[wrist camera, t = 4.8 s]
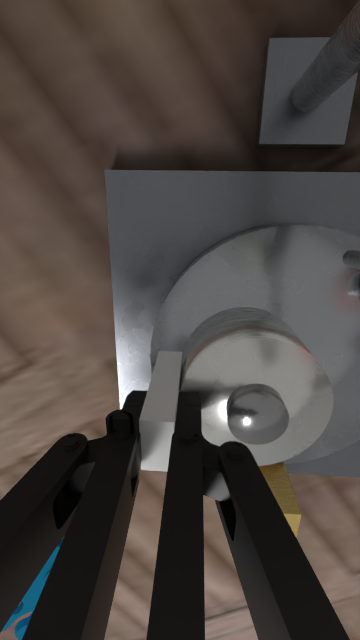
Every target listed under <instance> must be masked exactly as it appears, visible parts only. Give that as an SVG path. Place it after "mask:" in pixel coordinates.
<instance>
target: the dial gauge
mask: <svg viewBox="0 0 360 640" xmlns="http://www.w3.org/2000/svg"><path fill="white" fill-rule="evenodd" d="M359 70H360V0H359V1H358V2H357V3H356V5H355V6H354V7H353V9H352V10H351V11H350V13H349V14H348V15H347V16H346V18H345V19H344V20H343V22H342V23H341V24H340V26H339V27H338V28H337V30H336V31H335V32H334V34H333V35H332V36H331V37H305V38H269V40H268V43H267V45H266V48H265V58H264V68H263V79H262V90H261V100H260V111H259V122H258V133H257V143H256V147H260V148H338V147H340V146H342V145H344V144H345V139H346V134H347V129H348V123H349V118H350V112H351V107H352V102H353V96H354V91H355V85H356V80H357V75H358V71H359ZM342 261H343V263H344V264H345V265H348V266H351V267H354V268H357V269H359V270H360V251H356V250H348V251H347V252H345V253H344V255H343V257H342Z"/></svg>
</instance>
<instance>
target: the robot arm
mask: <svg viewBox="0 0 360 640" xmlns="http://www.w3.org/2000/svg"><path fill="white" fill-rule="evenodd" d="M182 353H183V352H175V351H159V353H158V356H157V360H156V363H155V367H154V370H153V374H152V377H151V381H150V384H149V388H148V391H140V390H133V391H131V392H130V393H129V394H128V395H127V397H126V399H125V402H124V404H123V407H122V409H119V410H116V411H113V412H111V413H110V414H108V416H107V417H106V428H107V435H106V436H104V437H102V438H98V439H94V440H89V441H87V438H86V436H85V435H82V434H79V433H73V434H68V435H66V436H64V437H62V438H61V439H59V440H58V441H57V442H56V443H55V444H54V445H53V446H52V447H51V448H50V449H49V450H48V451H47V452H46V454H45V455H44V456H43V457H42V458H41V459H40V460H39V461H38V462H37V463H36V464H35V465H34V466H33V467H32V468H31V469H30V470H29V471H28V472H27V473H26V474H25V475H24V476H23V477H22V479H21V480H20V481H19V482H18V483H17V484H16V485H15V486H14V487H13V488H12V489H11V490H10V491H9V492H8V493H7V494H6V495H5V496H4V497H3V498H2V499H1V500H0V632H1V631H2V629H3V628H4V626H5V625H6V623H7V622H8V620H9V619H10V617H11V616H12V614H13V613H14V611H15V610H16V608H17V606H18V605H19V603H20V602H21V600H22V599H23V597H24V596H25V594H26V593H27V591H28V590H29V588H30V587H31V585H32V584H33V582H34V581H35V579H36V578H37V576H38V574H39V573H40V571H41V570H42V568H43V567H44V565H45V564H46V562H47V561H48V559H49V558H50V556H51V555H52V553H53V552H54V550H55V549H56V547H57V546H58V544H59V543H60V541H61V539H62V538H63V536H64V535H65V536H64V539H63V541H62V544H61V546H60V548H59V551H58V553H57V556H56V558H55V561H54V563H53V565H52V568H51V570H50V573H49V575H48V577H47V580H46V582H45V585H44V587H43V590H42V592H41V594H40V597H39V599H38V602H37V604H36V606H35V609H34V611H33V614H32V616H31V619H30V621H29V623H28V626H27V628H26V631H25V633H24V636H23V638H22V640H104V637H105V632H106V628H107V623H108V619H109V614H110V610H111V605H112V601H113V596H114V592H115V587H116V583H117V578H118V573H119V569H120V564H121V560H122V555H123V551H124V546H125V542H126V537H127V533H128V528H129V524H130V519H131V515H132V510H133V506H134V501H135V497H136V492H137V488H138V483H139V468H140V464H141V470H153V471H167V479H166V487H165V495H164V503H163V511H162V519H161V527H160V536H159V544H158V552H157V560H156V568H155V576H154V584H153V592H152V600H151V608H150V616H149V624H148V632H147V640H205V612H204V530H203V495H205V496H208V497H210V498H213V499H215V501H216V505H217V509H218V512H219V515H220V518H221V521H222V524H223V528H224V531H225V534H226V537H227V540H228V544H229V547H230V550H231V553H232V556H233V560H234V563H235V566H236V569H237V572H238V576H239V579H240V582H241V585H242V588H243V592H244V595H245V598H246V601H247V604H248V608H249V611H250V614H251V617H252V620H253V624H254V627H255V630H256V633H257V636H258V640H350V639H349V637H348V635H347V634H346V632H345V630H344V628H343V626H342V624H341V622H340V620H339V618H338V616H337V615H336V613H335V611H334V609H333V607H332V605H331V603H330V601H329V599H328V597H327V596H326V594H325V592H324V590H323V588H322V586H321V584H320V582H319V580H318V578H317V576H316V575H315V573H314V571H313V569H312V567H311V565H310V563H309V561H308V559H307V557H306V556H305V554H304V552H303V550H302V548H301V546H300V544H299V542H298V540H297V538H296V537H295V535H294V533H293V531H292V529H291V527H290V525H289V523H288V521H287V519H286V518H285V516H284V514H283V512H282V510H281V508H280V506H279V504H278V502H277V500H276V499H275V497H274V495H273V493H272V491H271V489H270V487H269V485H268V483H267V481H266V480H265V478H264V476H263V474H262V472H261V470H260V468H259V466H258V464H257V462H256V461H255V459H254V457H253V455H252V453H251V451H250V450H249V448H248V447H247V446H245V445H244V444H242V443H240V442H237V441H228V442H225V443H223V444H222V445H221V446H217V445H214V444H212V443H210V442H208V441H207V440H206V439H205V438H204V437H203V435H202V421H201V397H200V396H199V394H198V393H197V392H180V386H181V376H182ZM65 533H66V534H65Z"/></svg>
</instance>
